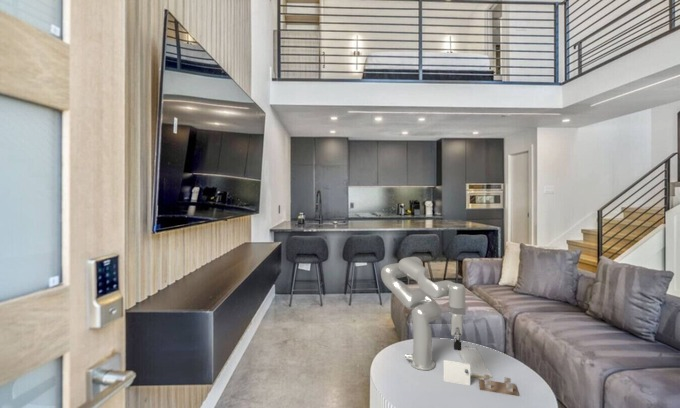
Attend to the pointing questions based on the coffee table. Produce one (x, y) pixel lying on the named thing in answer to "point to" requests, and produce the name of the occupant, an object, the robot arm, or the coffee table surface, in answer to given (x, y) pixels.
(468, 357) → the baseboard molding
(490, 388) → the hinge mount
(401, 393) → the coffee table surface
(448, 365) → the cabinet door
